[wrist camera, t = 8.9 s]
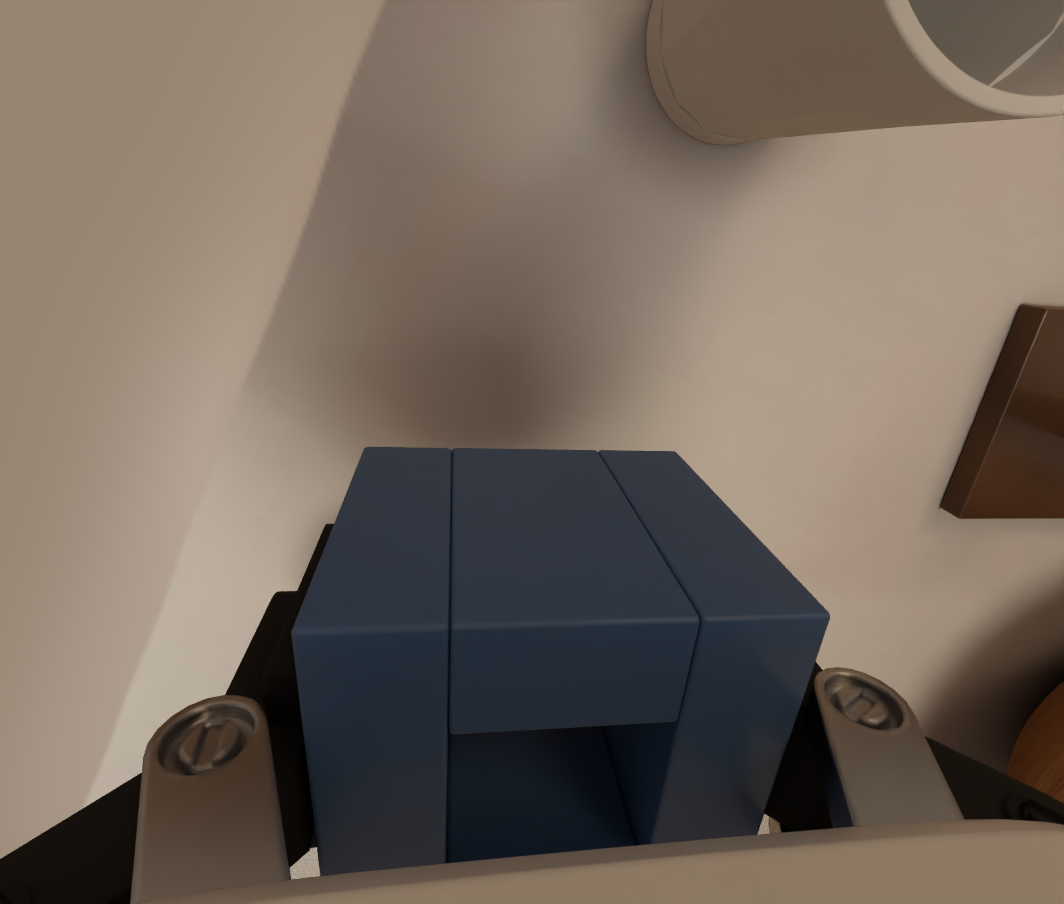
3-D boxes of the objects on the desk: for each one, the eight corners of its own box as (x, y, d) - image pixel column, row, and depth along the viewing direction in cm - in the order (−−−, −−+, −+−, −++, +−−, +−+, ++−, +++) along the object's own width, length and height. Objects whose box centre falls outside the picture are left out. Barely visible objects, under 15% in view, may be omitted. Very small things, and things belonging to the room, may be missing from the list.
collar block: (363, 445, 10) (288, 631, 6) (676, 450, 11) (833, 615, 6) (376, 693, 12) (329, 971, 8) (634, 681, 13) (728, 925, 9)
